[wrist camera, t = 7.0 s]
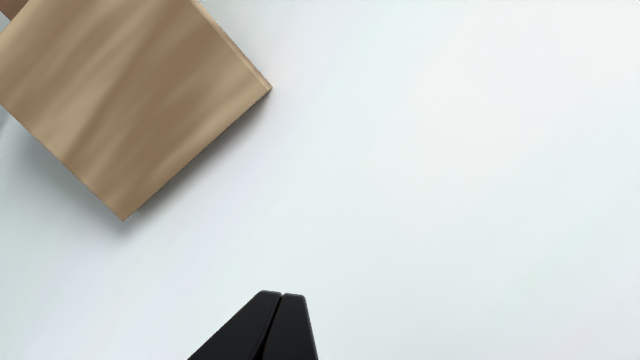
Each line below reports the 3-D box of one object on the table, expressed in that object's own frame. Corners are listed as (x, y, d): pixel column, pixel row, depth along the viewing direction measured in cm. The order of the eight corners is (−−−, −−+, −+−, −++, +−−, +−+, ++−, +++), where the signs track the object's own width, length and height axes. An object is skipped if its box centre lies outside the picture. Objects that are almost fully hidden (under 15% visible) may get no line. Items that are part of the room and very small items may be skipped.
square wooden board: (268, 90, 20) (109, -92, 18) (122, 221, 22) (-34, 72, 20) (272, 87, 22) (126, -81, 20) (136, 210, 24) (-8, 70, 22)
